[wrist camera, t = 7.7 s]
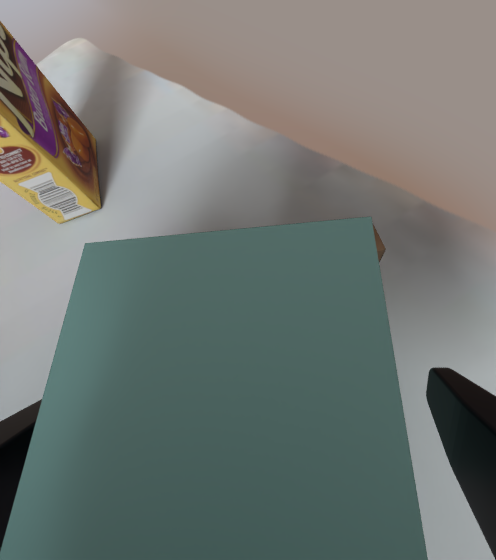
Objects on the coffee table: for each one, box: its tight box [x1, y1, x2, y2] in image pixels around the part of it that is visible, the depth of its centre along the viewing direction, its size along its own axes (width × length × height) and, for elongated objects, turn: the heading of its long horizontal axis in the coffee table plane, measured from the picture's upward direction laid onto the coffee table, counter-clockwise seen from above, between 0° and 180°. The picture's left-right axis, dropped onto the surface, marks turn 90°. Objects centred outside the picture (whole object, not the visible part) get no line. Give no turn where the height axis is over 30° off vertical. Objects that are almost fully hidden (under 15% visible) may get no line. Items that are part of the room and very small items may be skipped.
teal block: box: [0, 217, 428, 560], centre depth 10 cm, size 5×5×12 cm
